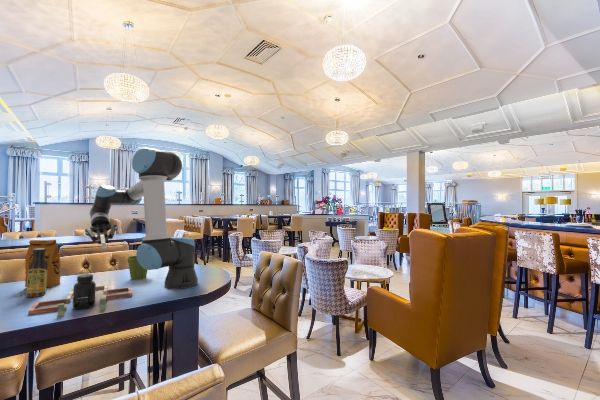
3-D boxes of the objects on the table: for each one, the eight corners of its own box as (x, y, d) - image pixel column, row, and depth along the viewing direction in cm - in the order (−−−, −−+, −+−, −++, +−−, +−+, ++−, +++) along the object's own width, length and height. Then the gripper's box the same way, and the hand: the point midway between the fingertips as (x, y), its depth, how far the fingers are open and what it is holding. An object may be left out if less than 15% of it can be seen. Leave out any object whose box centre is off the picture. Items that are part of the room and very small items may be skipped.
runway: (44, 295, 125) (44, 286, 125) (130, 285, 141) (130, 277, 141) (22, 322, 97) (23, 309, 97) (133, 305, 114) (133, 294, 114)
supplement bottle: (79, 311, 107) (79, 278, 107) (68, 308, 110) (69, 276, 110) (99, 305, 113) (99, 274, 113) (88, 303, 116) (89, 272, 116)
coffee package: (50, 288, 135) (51, 240, 136) (20, 289, 134) (21, 241, 134) (64, 282, 145) (65, 238, 146) (36, 283, 144) (37, 238, 144)
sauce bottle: (24, 298, 121) (25, 250, 121) (29, 294, 126) (30, 248, 127) (44, 296, 124) (45, 249, 124) (49, 292, 129) (49, 247, 130)
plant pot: (138, 281, 148) (139, 259, 148) (120, 280, 151) (120, 258, 152) (156, 276, 159) (156, 255, 160) (138, 274, 163) (139, 254, 163)
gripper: (116, 227, 148) (122, 249, 131) (85, 232, 141) (86, 256, 124) (115, 213, 146) (120, 235, 128) (82, 218, 138) (83, 241, 121)
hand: (103, 245), depth 126 cm, fingers closed
